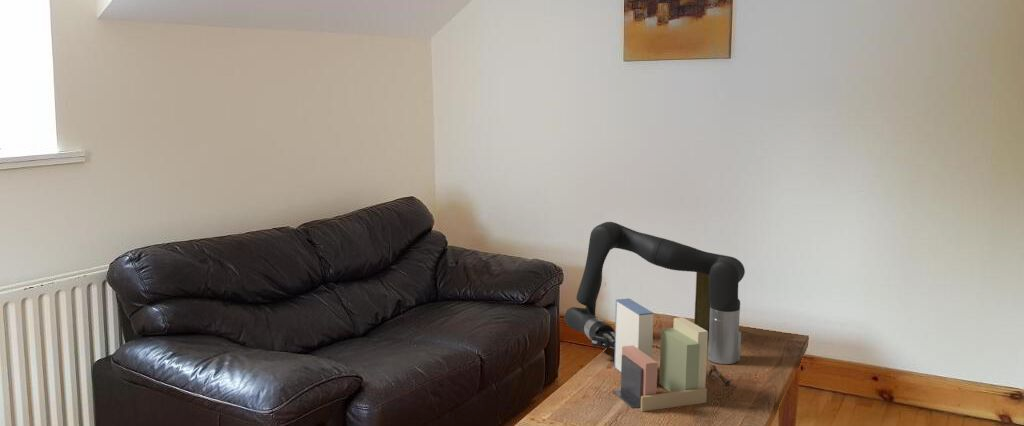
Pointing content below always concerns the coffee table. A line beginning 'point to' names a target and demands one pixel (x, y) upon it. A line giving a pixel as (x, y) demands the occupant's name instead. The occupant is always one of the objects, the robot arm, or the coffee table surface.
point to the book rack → (674, 367)
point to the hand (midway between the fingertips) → (621, 348)
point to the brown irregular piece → (717, 375)
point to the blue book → (632, 329)
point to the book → (702, 302)
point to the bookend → (630, 383)
